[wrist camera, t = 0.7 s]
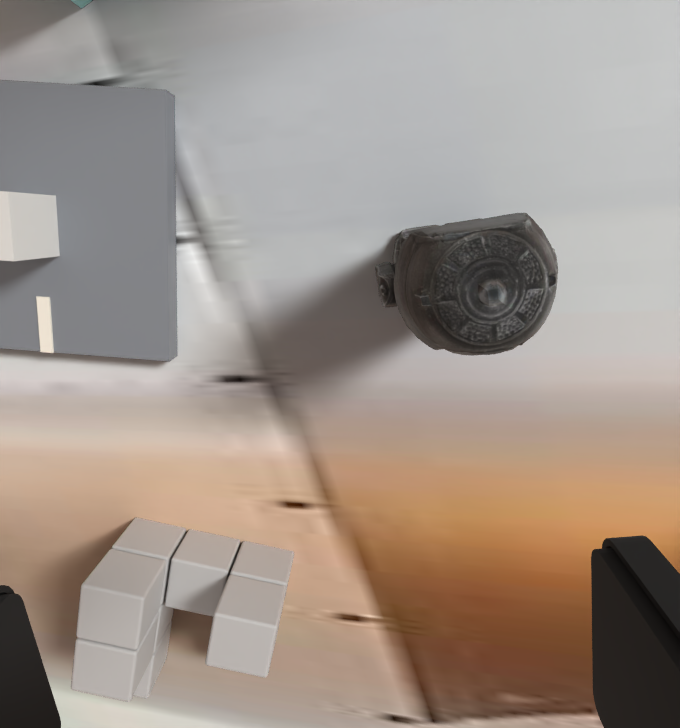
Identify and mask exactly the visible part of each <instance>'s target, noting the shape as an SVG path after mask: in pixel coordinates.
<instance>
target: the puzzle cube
mask: <svg viewBox="0 0 680 728" xmlns="http://www.w3.org/2000/svg"><path fill="white" fill-rule="evenodd" d="M185 534H186V535H185ZM239 546H240V540H238V539H234V538H230V537H225V536H220V535H216V534H211V533H206V532H202V531H197V530H192V529H189V530H188V532H187V533H186V529H185V528H183V527H179V526H174V525H169V524H165V523H160V522H155V521H151V520H146V519H142V518H137V517H136V518H134V519H133V521H132V522H131V523H130V524H129V526H128V527H127V528H126V529H125V531H124V532H123V533H122V534H121V536H120V537H119V538H118V539H117V541H116V542H115V543H114V544H113V546H112V549H110V550H109V551H108V552H107V553H106V555H105V556H104V557H103V558H102V560H101V561H100V562H99V563H98V565H97V566H96V567H95V568H94V570H93V571H92V572H91V573H90V575H89V576H88V577H87V578H86V580H85V581H84V582H83V583H82V585H81V591H80V601H79V611H78V621H77V631H76V636H77V637H78V638H77V639H76V642H75V651H74V661H73V671H72V681H71V689H72V690H75V691H80V692H84V693H89V694H94V695H98V696H103V697H108V698H112V699H117V700H122V701H126V702H129V701H130V700H131V699H132V697H133V696H136V697H141V698H148V697H149V695H150V693H151V691H152V688H153V686H154V684H155V682H156V680H157V678H158V676H159V673H160V671H161V669H162V667H163V665H164V663H165V660H166V658H167V651H168V645H169V638H170V632H171V625H172V620H171V619H172V617H173V612H174V608H175V609H180V610H184V611H189V612H194V613H198V614H203V615H208V616H212V617H213V622H212V627H211V633H210V639H209V644H208V650H207V656H206V661H205V663H206V665H208V666H213V667H217V668H222V669H227V670H231V671H236V672H241V673H245V674H250V675H255V676H259V677H267V676H268V673H269V668H270V664H271V659H272V655H273V650H274V646H275V641H276V637H277V632H278V628H279V623H280V618H281V614H282V609H283V604H284V599H285V595H286V590H287V586H288V581H289V576H290V572H291V567H292V562H293V558H294V552H293V551H290V550H285V549H280V548H276V547H271V546H267V545H262V544H257V543H253V542H248V541H243V542H242V544H241V547H240V550H239ZM238 551H239V552H238Z"/></svg>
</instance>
